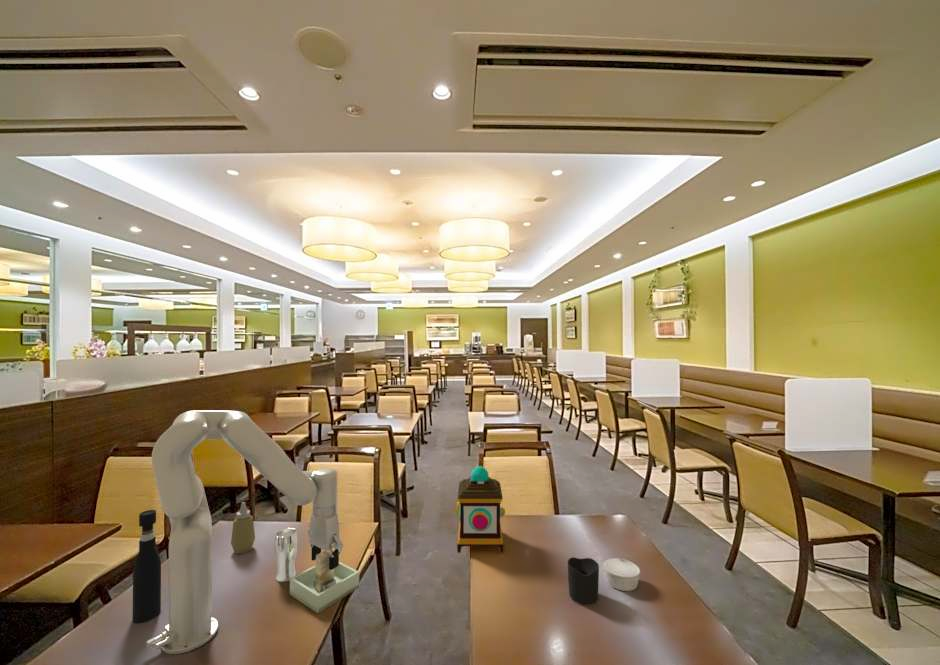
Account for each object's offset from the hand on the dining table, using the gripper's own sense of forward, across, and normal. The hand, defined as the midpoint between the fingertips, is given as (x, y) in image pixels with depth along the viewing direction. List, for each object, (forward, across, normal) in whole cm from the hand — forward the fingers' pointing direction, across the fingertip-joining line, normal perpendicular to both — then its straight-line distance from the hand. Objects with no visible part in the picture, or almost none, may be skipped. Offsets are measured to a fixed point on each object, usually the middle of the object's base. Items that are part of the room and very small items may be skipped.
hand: (325, 563), depth 128 cm
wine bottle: (+9, -32, -37) cm, 50 cm away
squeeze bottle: (+9, -48, -3) cm, 48 cm away
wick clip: (+9, 0, 0) cm, 9 cm away
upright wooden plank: (+8, 0, 0) cm, 8 cm away
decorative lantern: (+9, +24, +54) cm, 60 cm away
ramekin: (+9, +76, +59) cm, 97 cm away
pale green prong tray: (+9, 0, 0) cm, 9 cm away
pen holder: (+9, +68, +45) cm, 82 cm away
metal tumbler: (+9, -18, -3) cm, 20 cm away
